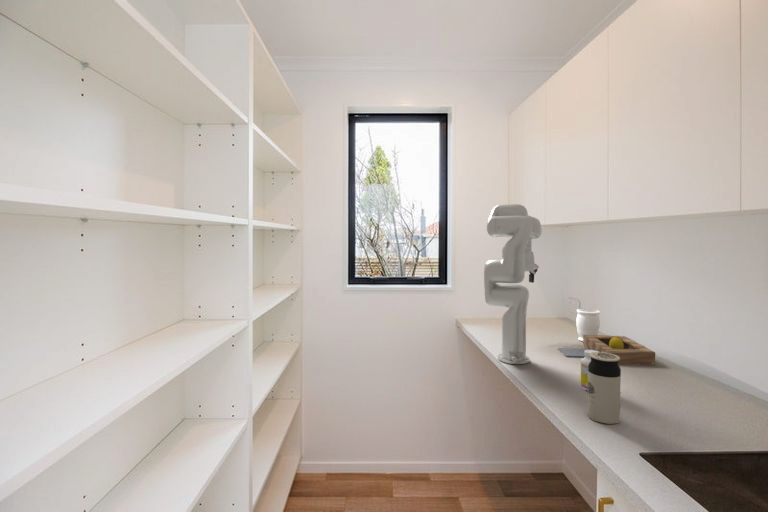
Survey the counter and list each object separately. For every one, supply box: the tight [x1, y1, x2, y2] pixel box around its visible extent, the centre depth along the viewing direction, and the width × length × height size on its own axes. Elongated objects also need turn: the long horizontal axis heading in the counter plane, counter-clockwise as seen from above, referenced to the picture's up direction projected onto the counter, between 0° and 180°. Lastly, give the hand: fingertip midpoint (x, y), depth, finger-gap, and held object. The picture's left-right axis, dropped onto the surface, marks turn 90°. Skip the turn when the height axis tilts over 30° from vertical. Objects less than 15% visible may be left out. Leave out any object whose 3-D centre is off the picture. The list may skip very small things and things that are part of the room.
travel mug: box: [586, 352, 622, 425], centre depth 110 cm, size 8×8×18 cm
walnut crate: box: [582, 334, 656, 366], centre depth 170 cm, size 26×18×5 cm
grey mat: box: [557, 347, 588, 358], centre depth 172 cm, size 12×12×1 cm
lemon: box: [609, 337, 624, 349], centre depth 170 cm, size 6×6×8 cm
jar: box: [575, 308, 601, 342], centre depth 193 cm, size 11×10×15 cm
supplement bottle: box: [580, 349, 599, 392], centre depth 132 cm, size 7×7×13 cm
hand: (523, 282), depth 197 cm, fingers open, 9 cm apart
